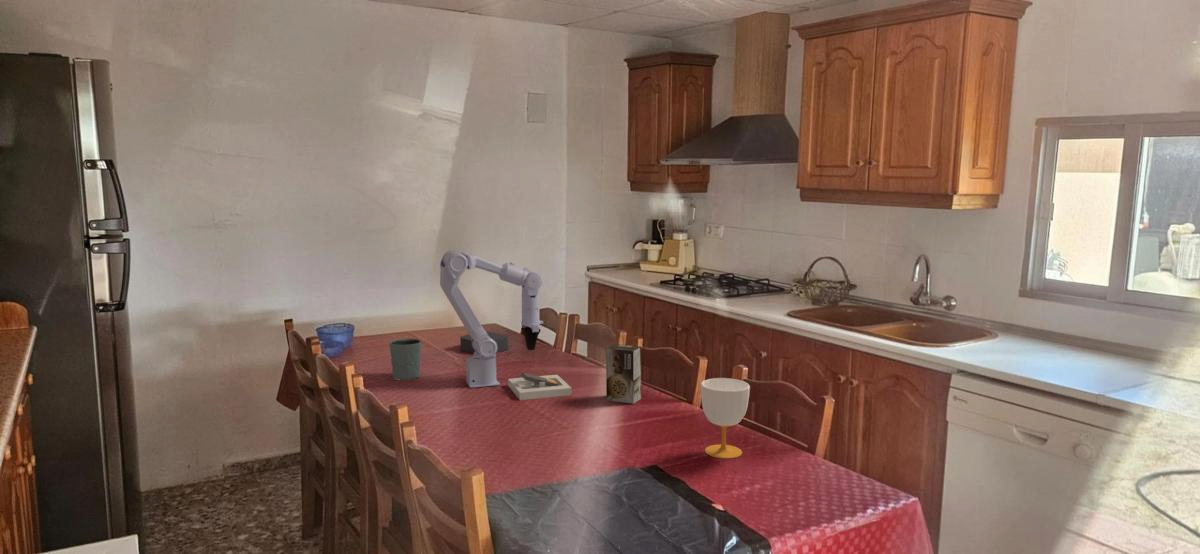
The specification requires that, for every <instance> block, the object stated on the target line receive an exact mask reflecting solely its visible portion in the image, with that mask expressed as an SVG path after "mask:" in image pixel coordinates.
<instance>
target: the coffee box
mask: <svg viewBox="0 0 1200 554" xmlns="http://www.w3.org/2000/svg"><path fill="white" fill-rule="evenodd" d="M605 359H606V360H605V361H606V363H605V364H606V365H605V366H606V367H605V372H606V373H605V375H606V376H605V377H606V379H605V381H606V385H605V387H606V390H605V393H606V396H605V397H606V399H605V400H606V401H609V402H617V403H624V404H631V405H632V404H633V405H634V404H636V403H637V402H638V401H640V400H641V399H642V346H640V345H639V346H638V345H632V344H631V345H629V344H619V343H613V344H611V345H610V346H608V347H606V348H605Z"/></svg>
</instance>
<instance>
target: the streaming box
mask: <svg viewBox="0 0 1200 554" xmlns="http://www.w3.org/2000/svg"><path fill="white" fill-rule="evenodd" d="M486 333H487V334H488V336H489V337H490V338H491V339H493V340H494V341H495V342H496V343H497V352H496V353H498V352H505V351H507V350H509V335H508V334H507V335H506V334H502V333H498V332H497V333H496V332H494V331H486ZM459 345H460V351H463V352H467V353H470V354H474V352H475V350H474V349H473V347H472V340H471V338H470V336H469V334H466V335H465V334H464V335H461V336H460V344H459Z"/></svg>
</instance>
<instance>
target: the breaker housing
mask: <svg viewBox="0 0 1200 554" xmlns="http://www.w3.org/2000/svg"><path fill="white" fill-rule="evenodd" d="M538 376H539V377H543V378H547V379H551V380H554V381H555V382H556V383H558V384H559V386H551V387H550V386H546V385H545V382H539V383H535V382H531V381H527V380H525V379H524V378H523V377H515V378H508V381H507V384H508V386H507V387H509V389H510V390H511V391H512V392H513V393H514V395H515V396H516V398H518V399H519V401H526V400H537V399H538V400H539V399H547V398H548V399H549V398H557V397H567V396H568V397H569V396H572V393H573V390H572V388H573V387H571V386H570V385H569V384H568V383H567V382H566V381H565V380H564V379H562V378H561V377H560V376H559V374H551V375H548V374H547V375H538Z"/></svg>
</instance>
